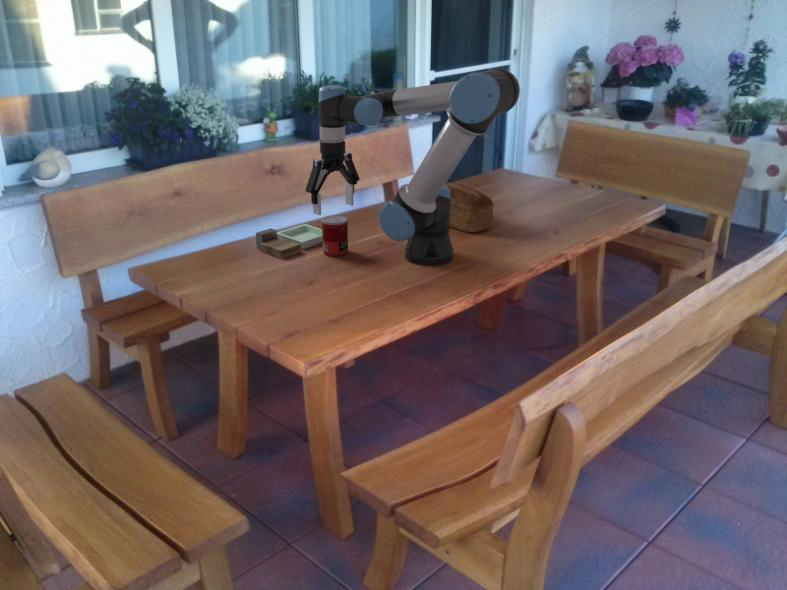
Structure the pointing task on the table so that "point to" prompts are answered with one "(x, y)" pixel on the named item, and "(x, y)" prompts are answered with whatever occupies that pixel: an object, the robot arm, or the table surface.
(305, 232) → the tray
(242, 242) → the table surface
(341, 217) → the canned food
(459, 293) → the table surface
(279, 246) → the tan block
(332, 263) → the table surface
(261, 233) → the bench dog
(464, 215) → the bread
